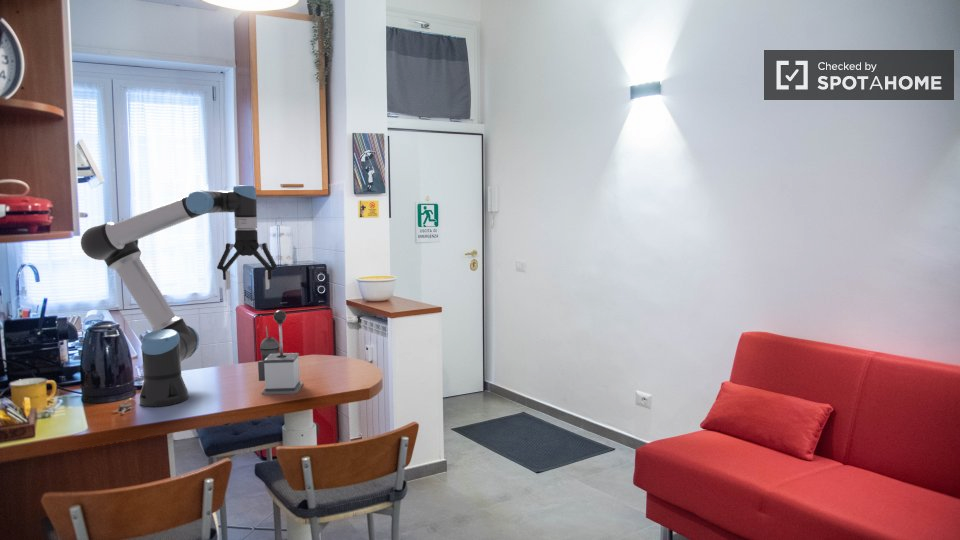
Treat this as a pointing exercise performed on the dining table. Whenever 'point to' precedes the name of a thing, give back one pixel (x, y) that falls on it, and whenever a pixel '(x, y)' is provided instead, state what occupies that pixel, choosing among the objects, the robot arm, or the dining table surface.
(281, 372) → the grey cube on plate
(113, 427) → the dining table surface
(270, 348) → the beverage cup
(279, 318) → the lever with ball knob
